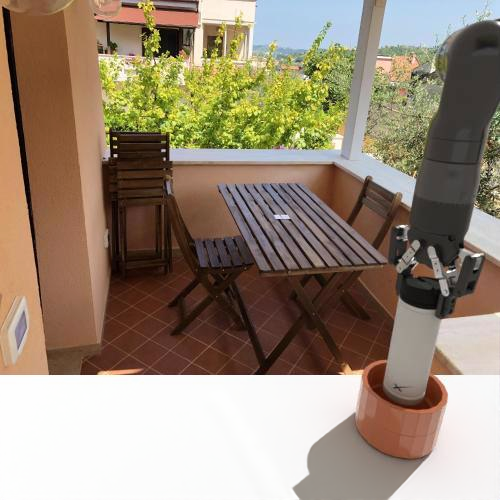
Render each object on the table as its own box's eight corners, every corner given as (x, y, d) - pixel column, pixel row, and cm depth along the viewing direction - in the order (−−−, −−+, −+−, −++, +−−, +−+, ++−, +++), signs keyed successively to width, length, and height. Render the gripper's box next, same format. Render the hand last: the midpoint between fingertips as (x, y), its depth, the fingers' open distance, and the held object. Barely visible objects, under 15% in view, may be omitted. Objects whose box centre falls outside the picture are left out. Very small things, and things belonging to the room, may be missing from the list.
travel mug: (398, 411, 64) (422, 291, 57) (374, 383, 70) (394, 271, 63) (433, 404, 66) (461, 287, 58) (407, 377, 72) (430, 268, 64)
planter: (394, 393, 79) (402, 352, 75) (453, 443, 68) (466, 397, 65) (339, 414, 73) (345, 371, 70) (394, 472, 62) (405, 424, 59)
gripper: (514, 205, 52) (482, 324, 58) (421, 181, 64) (402, 281, 70) (474, 211, 49) (444, 336, 55) (383, 184, 60) (367, 290, 66)
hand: (421, 305), depth 62 cm, fingers closed on travel mug, 6 cm apart
